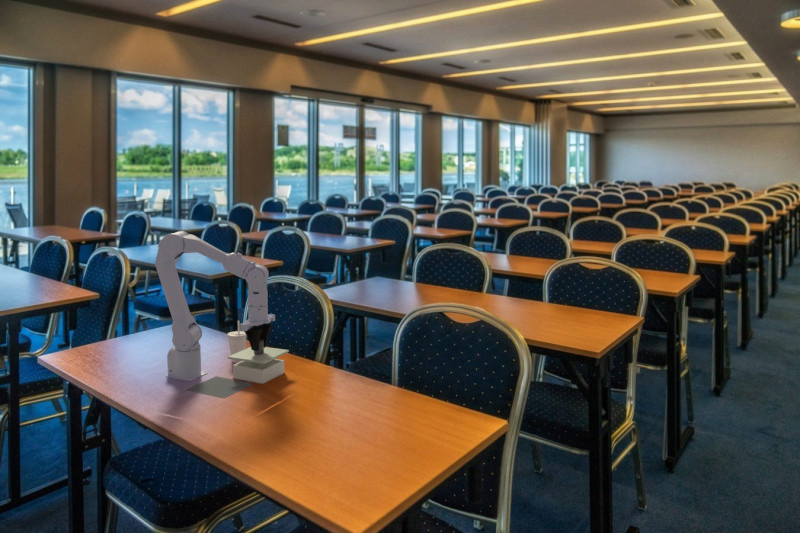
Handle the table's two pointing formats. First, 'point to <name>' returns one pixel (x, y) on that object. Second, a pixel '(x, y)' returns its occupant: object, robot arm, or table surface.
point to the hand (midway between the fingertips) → (258, 348)
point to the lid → (259, 354)
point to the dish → (258, 371)
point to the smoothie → (237, 342)
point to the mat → (219, 387)
